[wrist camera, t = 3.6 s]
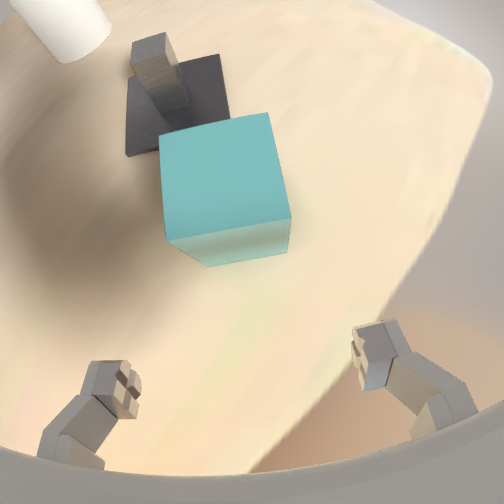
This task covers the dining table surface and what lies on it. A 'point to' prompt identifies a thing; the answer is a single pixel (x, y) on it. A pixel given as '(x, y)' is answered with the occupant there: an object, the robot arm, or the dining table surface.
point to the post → (170, 93)
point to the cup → (66, 25)
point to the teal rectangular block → (224, 191)
